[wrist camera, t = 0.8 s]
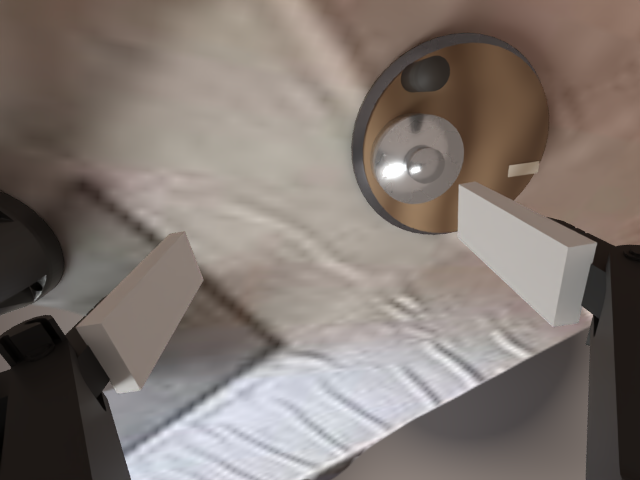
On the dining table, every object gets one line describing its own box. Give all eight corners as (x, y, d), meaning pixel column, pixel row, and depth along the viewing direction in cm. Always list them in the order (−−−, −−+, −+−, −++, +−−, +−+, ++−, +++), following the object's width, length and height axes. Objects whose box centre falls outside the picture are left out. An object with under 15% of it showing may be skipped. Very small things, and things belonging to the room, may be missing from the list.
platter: (369, 237, 36) (380, 265, 30) (354, 62, 29) (366, 53, 23) (525, 215, 36) (568, 239, 30) (552, 30, 28) (617, 12, 22)
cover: (372, 200, 33) (382, 216, 28) (366, 119, 29) (377, 123, 25) (449, 189, 32) (471, 204, 28) (451, 106, 29) (478, 108, 25)
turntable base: (359, 241, 38) (361, 246, 37) (341, 53, 29) (342, 51, 28) (526, 218, 37) (532, 222, 36) (555, 18, 29) (565, 15, 28)
